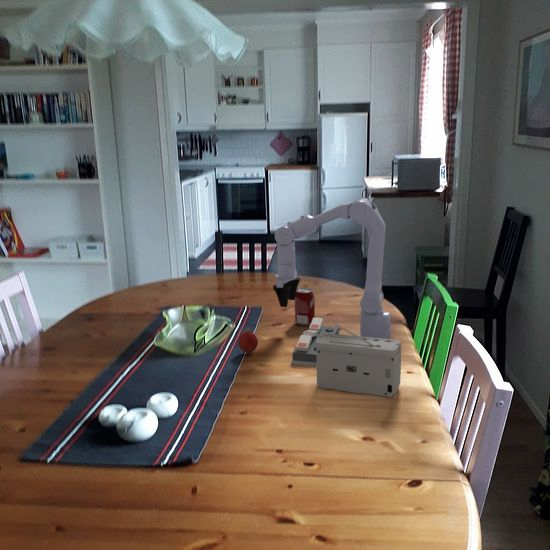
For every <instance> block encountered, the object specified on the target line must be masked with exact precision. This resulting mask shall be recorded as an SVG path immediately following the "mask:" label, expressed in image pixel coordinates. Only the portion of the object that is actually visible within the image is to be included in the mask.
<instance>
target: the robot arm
mask: <svg viewBox="0 0 550 550" xmlns="http://www.w3.org/2000/svg"><path fill="white" fill-rule="evenodd" d="M338 219H344V220H349V219H351V220H352V221H353V222H355V223H356V224H358V225H360V226H362V227H363V228H364V229H366V230H367V231H368V234H369V237H368V247H367V248H368V249H367V262H366V276H365V285H364V290H363V295H362V298H361V299H360V301H359V306H360V310H359V311H360V312H359V313H360V315H359V316H360V319H359V321H360V323H359V324H360V325H359V326H360V327H359V328H360V329H359V335H358V336H360V337H371V338H381V339H390V338H391V333H392V332H391V331H392V330H391V312H388V311H385V309H384V308H383V306H382V303H383V302H384V293H383V290H382V289H383V288H382V275H383V265H384V264H383V263H384V251H385V240H386V229H387V227H386V222H385V220H384V219H383V218H382V216H381V214H380V212H379V209H378V208H377V205H376V204H375V203H374V202H372V201H371V200H370V199H369V198H367V197H359V198H358V199H357V200H350V201H347V202H345V203H341V204H339V205H336V206H335V207H333V208H330V209H328V210H326V211H324V212H322V213H319V214H318V215H315V216H313V215H310V214H307V215H306V214H303V215H301V216H300V217H299V218H298V219H296V220H294V221H288V222H286V224H284V225H282V226H281V227H279V228H277V229H276V230H275V232H274V239H275V241H276V245H277V247H276V248H277V249H276V250H277V251H276V253H277V254H276V255H277V274H274V278H275V279H277V280H276V281H275V284H273V285H272V289H273V291H274V293H275V294H276V297H277V300H278V304H279V306H280V307H281V308H287V307H288V304H289V301H295V296H296V292H297V289H298V287H299V284H300V282H301V278H300V277H298V270H296V269H297V268H296V247H295V244H296V242H295V240H300V239H302V238H304V237H307V236H309V235H312V234H313V233H316V232H317V229H318V227H319V226H322V225H324V224H327V223H330V222H333V221H335V220H338Z"/></svg>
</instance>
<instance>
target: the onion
mask: <svg viewBox="0 0 550 550" xmlns="http://www.w3.org/2000/svg"><path fill="white" fill-rule="evenodd" d="M237 344H238V345H237V346H238V348H239V349H240V350H241V351H242V352H244V353H245V354H247V355H251V354H252V353H253V352H254V351H255V350H256V349H257V346H258V345H259V340H258V338H257V336H256V335H255V334H254V333H253V332H252V331H250V328H247V329H245V331H243V332H242V333H241V335H240V336H239V338H238V341H237Z"/></svg>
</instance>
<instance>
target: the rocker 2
mask: <svg viewBox="0 0 550 550" xmlns="http://www.w3.org/2000/svg"><path fill="white" fill-rule="evenodd" d="M323 323H324V317H315V318H313V320H312V322H311V325H309V328H308V329H309V330H311V331H318V332H320V329H321V326H322V325H323Z"/></svg>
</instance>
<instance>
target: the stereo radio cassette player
mask: <svg viewBox="0 0 550 550" xmlns="http://www.w3.org/2000/svg"><path fill="white" fill-rule="evenodd" d="M320 318H323V319H326V320H327V321H328V322H331V323H332V324H334V325H335V326H336V327H339V329H342V330H344V331H345V332H347V333H348V334H350V335H348V334H341V333H340V334H330V333H322V334H321V335H320V336H319V337H318V339H317V341H316V356H317V367H316V384H317V385H318V386H319V387H318V388H320V389H329V390H336V391H341V392H342V391H344V392H348V393H349V392H352V393H358V394H366V395H372V396H381V397H387V398H392V397H393V396H394V395H395V394H396V393H397V391H398V389H399V387H400V385H401V372H402V371H401V370H402V341H401V340H399V339H390V338H389V339H381V338H371V337H360V336H359V335H358V334H355V333H353V332H352V331H350V330H348V329H347V328H345V327H343V326H342V325H340V324H338V323H336V322H334V321H332V320H330V319H329V318H326V317H325V316H324V315H322V314H321V315H320Z"/></svg>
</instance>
